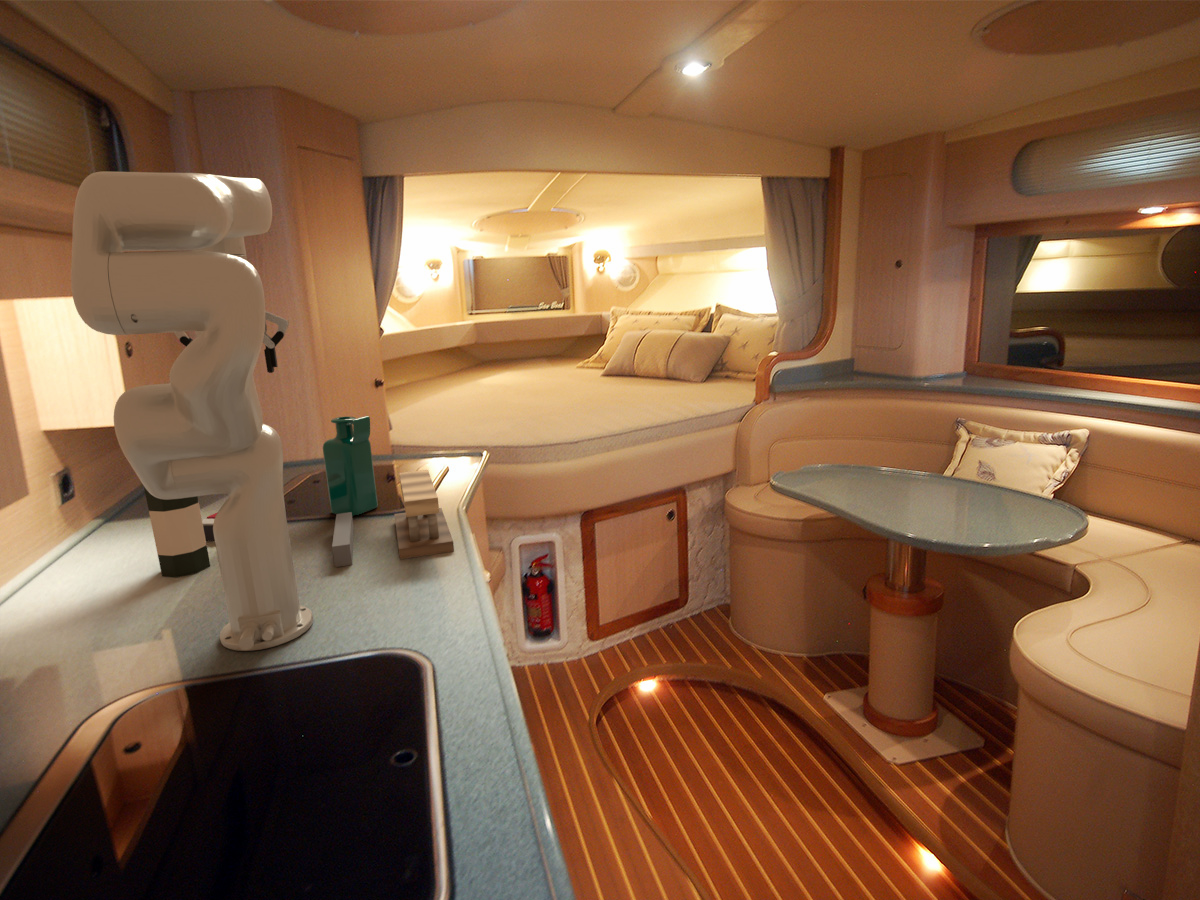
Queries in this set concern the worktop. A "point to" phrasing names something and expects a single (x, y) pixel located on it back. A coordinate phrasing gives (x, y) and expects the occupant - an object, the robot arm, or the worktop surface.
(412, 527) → the peg stand
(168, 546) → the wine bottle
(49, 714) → the worktop surface
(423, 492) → the wooden block
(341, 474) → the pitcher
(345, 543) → the block
